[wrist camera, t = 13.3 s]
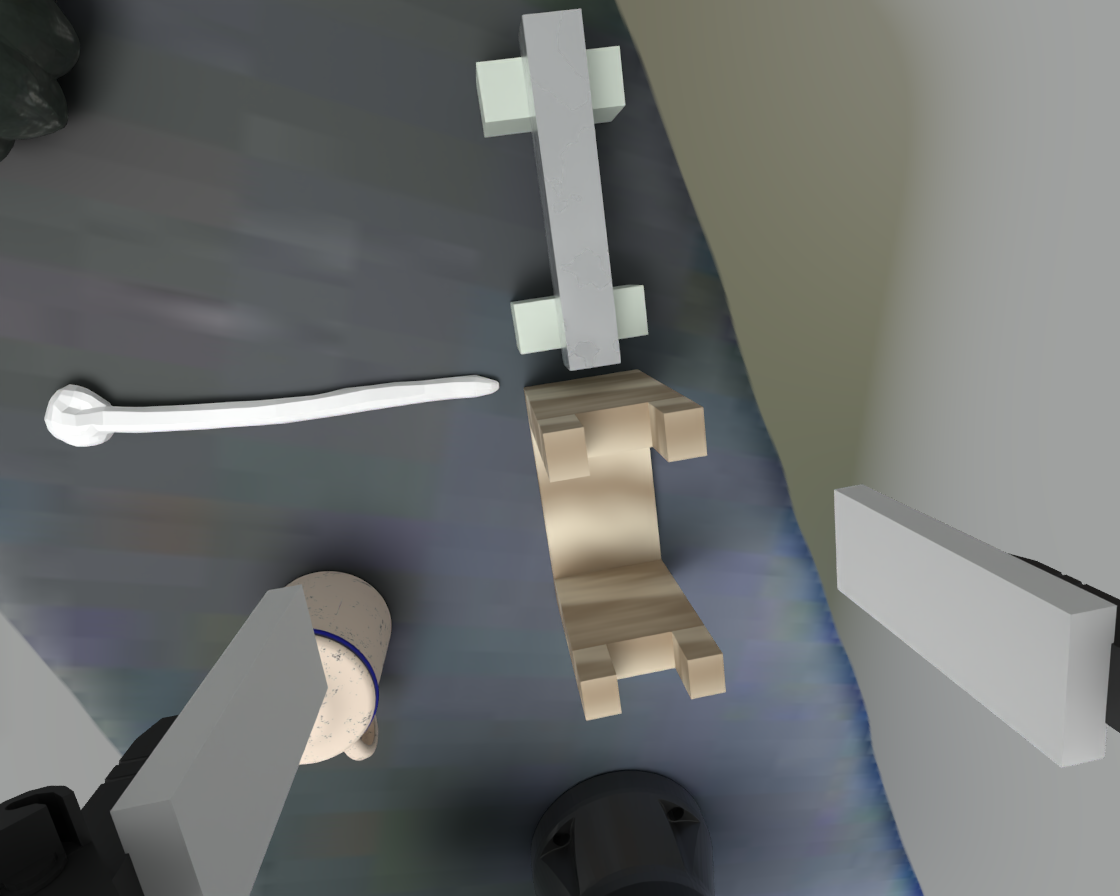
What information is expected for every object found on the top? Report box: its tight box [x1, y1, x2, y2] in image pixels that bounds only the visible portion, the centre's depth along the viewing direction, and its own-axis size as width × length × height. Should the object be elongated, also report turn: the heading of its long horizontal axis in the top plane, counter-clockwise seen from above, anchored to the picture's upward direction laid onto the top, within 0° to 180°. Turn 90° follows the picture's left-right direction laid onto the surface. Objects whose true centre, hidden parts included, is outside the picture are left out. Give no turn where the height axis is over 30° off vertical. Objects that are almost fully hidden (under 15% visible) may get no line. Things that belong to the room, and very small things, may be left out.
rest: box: [476, 46, 648, 354], centre depth 39 cm, size 16×8×4 cm, turn 8°
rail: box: [518, 9, 621, 371], centre depth 36 cm, size 18×3×3 cm, turn 8°
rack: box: [524, 369, 726, 721], centre depth 40 cm, size 16×8×14 cm, turn 8°
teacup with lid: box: [286, 571, 391, 764], centre depth 41 cm, size 12×9×12 cm
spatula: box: [44, 375, 499, 447], centre depth 41 cm, size 28×4×3 cm, turn 95°
